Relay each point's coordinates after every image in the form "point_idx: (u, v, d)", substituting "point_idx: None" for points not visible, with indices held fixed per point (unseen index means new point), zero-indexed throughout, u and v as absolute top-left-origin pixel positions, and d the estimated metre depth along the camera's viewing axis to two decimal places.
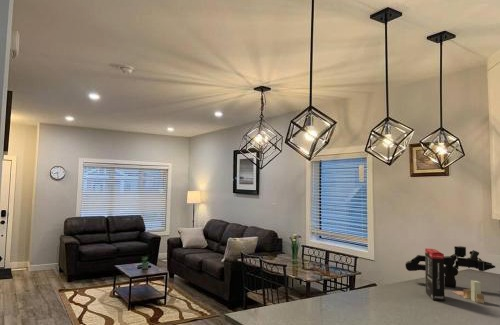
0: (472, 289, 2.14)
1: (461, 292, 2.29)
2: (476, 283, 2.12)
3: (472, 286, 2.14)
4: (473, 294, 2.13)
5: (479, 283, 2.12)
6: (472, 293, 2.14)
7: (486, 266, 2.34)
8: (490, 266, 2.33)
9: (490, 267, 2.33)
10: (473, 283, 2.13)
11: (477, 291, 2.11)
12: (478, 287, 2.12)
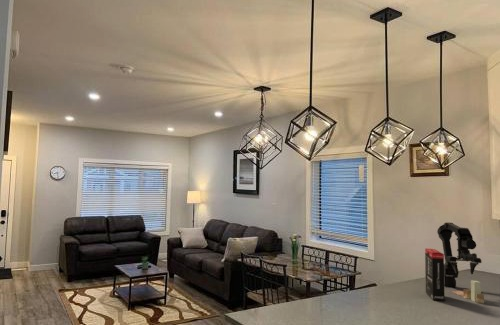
0: (472, 289, 2.14)
1: (461, 292, 2.29)
2: (476, 283, 2.12)
3: (472, 286, 2.14)
4: (473, 294, 2.12)
5: (479, 283, 2.12)
6: (472, 293, 2.14)
7: (453, 264, 2.29)
8: (454, 268, 2.28)
9: (454, 268, 2.29)
10: (473, 283, 2.13)
11: (477, 291, 2.11)
12: (478, 287, 2.12)
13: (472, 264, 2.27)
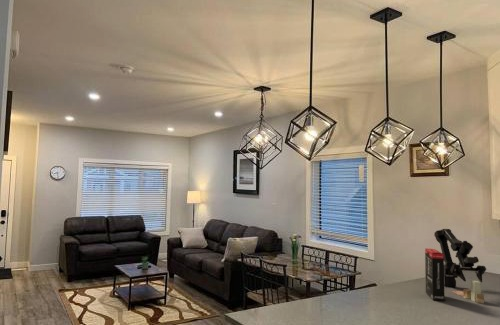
0: (472, 289, 2.14)
1: (461, 292, 2.29)
2: (476, 283, 2.12)
3: (472, 286, 2.14)
4: (473, 294, 2.12)
5: (479, 283, 2.12)
6: (472, 293, 2.14)
7: (460, 273, 2.21)
8: (461, 276, 2.19)
9: (461, 277, 2.19)
10: (473, 283, 2.13)
11: (477, 291, 2.11)
12: (478, 287, 2.12)
13: (478, 272, 2.20)
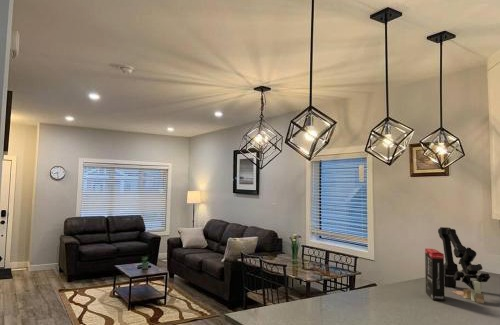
0: None
1: (461, 292, 2.29)
2: (476, 283, 2.12)
3: None
4: (473, 294, 2.12)
5: (479, 283, 2.12)
6: (472, 293, 2.14)
7: (468, 281, 2.16)
8: (469, 285, 2.14)
9: (469, 285, 2.15)
10: (473, 283, 2.13)
11: (477, 291, 2.11)
12: (478, 287, 2.12)
13: (477, 280, 2.16)
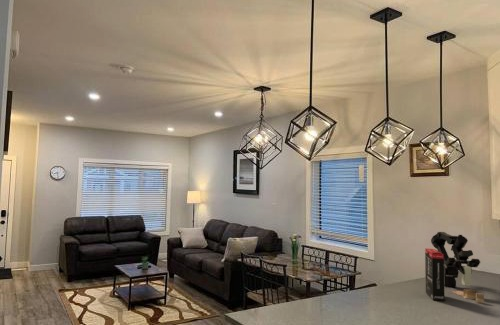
0: (463, 274, 2.25)
1: (461, 292, 2.29)
2: (467, 268, 2.23)
3: None
4: (464, 278, 2.23)
5: (469, 268, 2.22)
6: (463, 277, 2.25)
7: (459, 267, 2.27)
8: (460, 270, 2.25)
9: (460, 270, 2.26)
10: (464, 268, 2.24)
11: (467, 276, 2.22)
12: (468, 272, 2.22)
13: (468, 265, 2.27)
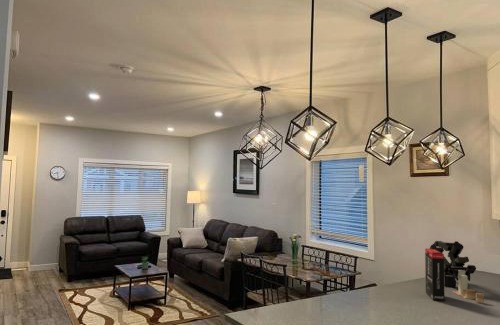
0: (459, 282, 2.29)
1: None
2: (463, 277, 2.26)
3: (459, 279, 2.29)
4: (460, 287, 2.27)
5: (466, 277, 2.26)
6: (459, 286, 2.28)
7: (453, 273, 2.31)
8: (454, 276, 2.30)
9: (454, 276, 2.30)
10: (460, 277, 2.28)
11: (464, 284, 2.26)
12: (465, 280, 2.26)
13: (467, 272, 2.31)
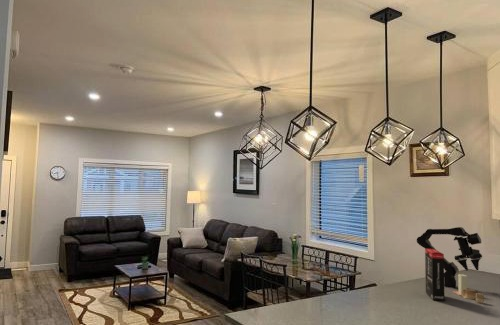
0: (459, 282, 2.29)
1: None
2: (463, 277, 2.27)
3: (459, 279, 2.29)
4: (460, 287, 2.27)
5: (466, 277, 2.27)
6: (459, 286, 2.29)
7: (475, 262, 2.33)
8: (477, 265, 2.33)
9: (476, 265, 2.33)
10: (460, 277, 2.28)
11: (464, 284, 2.26)
12: (465, 280, 2.26)
13: (464, 261, 2.44)
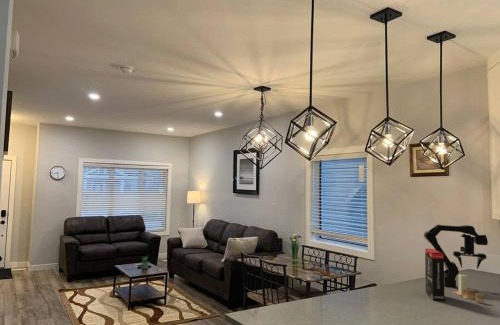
0: (459, 282, 2.29)
1: None
2: (463, 277, 2.27)
3: (459, 279, 2.29)
4: (460, 287, 2.27)
5: (466, 277, 2.27)
6: (459, 286, 2.29)
7: None
8: None
9: None
10: (460, 277, 2.28)
11: (464, 284, 2.26)
12: (465, 280, 2.26)
13: None
